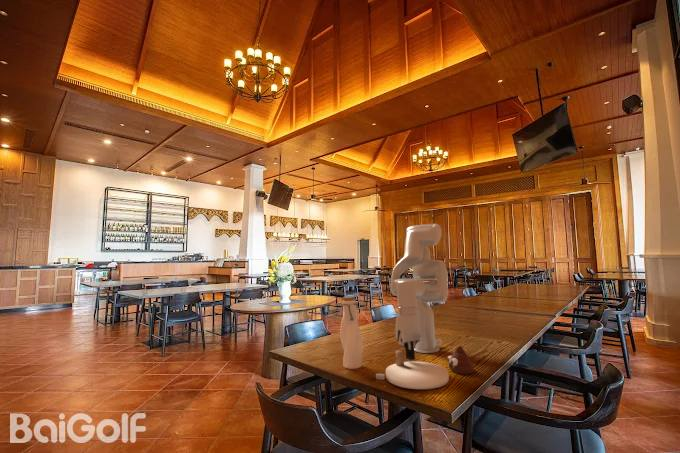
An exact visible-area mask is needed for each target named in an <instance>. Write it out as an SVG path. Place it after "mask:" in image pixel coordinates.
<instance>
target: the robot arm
mask: <svg viewBox="0 0 680 453" xmlns="http://www.w3.org/2000/svg"><path fill="white" fill-rule="evenodd" d="M405 231H406V233H405V241H404V242H405V243H404V250H403V252H404V253H403V257H402V258H401V259H400V260H399V261H397V263H396V265H394V267H393V269H392V272H391V278H390V286H389V287H390V292H391V294H392V295H393V296H395V297H396V298H397V299H396V300H397V313H398V314H396V319H395V340H396V341H397V342H398V343H397V344H398V345H399V346H401V347H402V346H403V348H404V349H405V359H406V360H409V361H414V360H415V359H416V358H415V357H416V356H415V355H416V354H415V353H421V354H433V353H437V352H439V351H440V347H439V346H438V344H441V343H442V342H443V340H442V338H436V332H435V331H436V330H435V319H434V318H435V317H434V316H435V315H434V311H433V309H432V307H431V305H430V304H429V303H445V302H446V301H447V300H448V296H449V294H448V293H449V291H448V270H447V264H446V263H445V261H443V260H441V259H431V250H430V248H429V247H432V246H436V245H438V243H439V242H440V241H441V238H442V233H443V231H442V227H441V226H440V224H438V223H426V224H416V225H411V226H408V227H407V228H406V230H405ZM411 268H412V274H413V278H412V277H406V278H404V277H403V278H402V277H401V276H402V274H403V273H404V272H406V271H407V270H409V269H411ZM423 280H424V281H423ZM428 280H429V281H428ZM431 280H433V281H431ZM434 280H435V281H434Z"/></svg>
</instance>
